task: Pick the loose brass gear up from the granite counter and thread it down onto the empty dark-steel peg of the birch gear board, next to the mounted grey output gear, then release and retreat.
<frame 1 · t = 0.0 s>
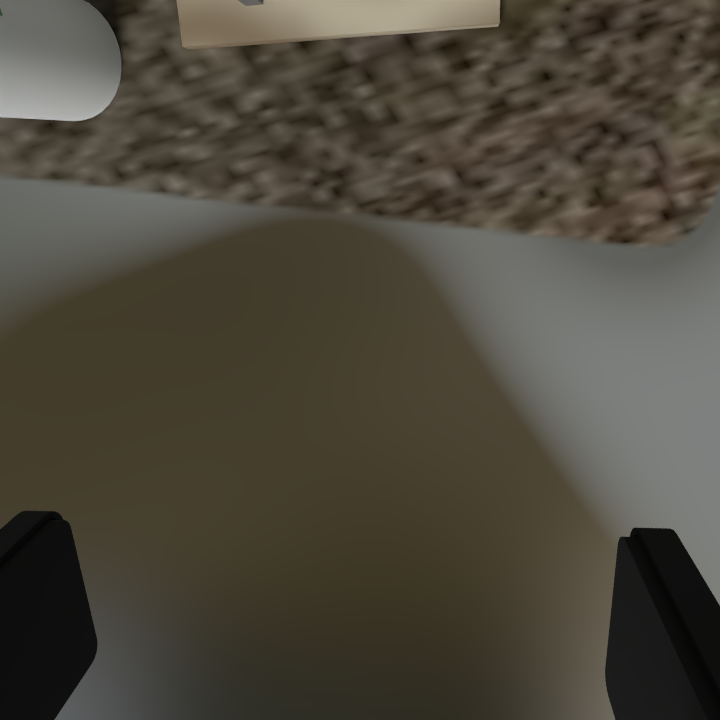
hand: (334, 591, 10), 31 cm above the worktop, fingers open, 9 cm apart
cylindrical container: (67, 59, 38), on the worktop
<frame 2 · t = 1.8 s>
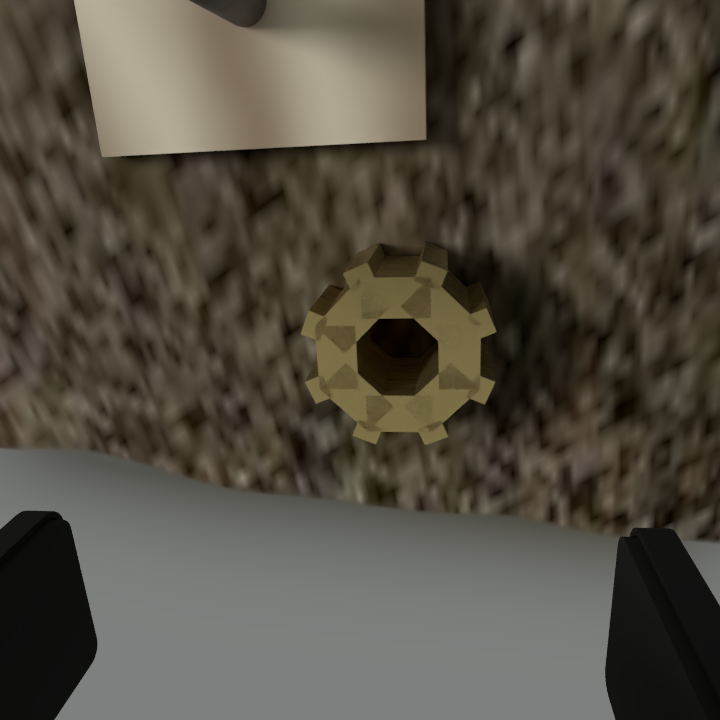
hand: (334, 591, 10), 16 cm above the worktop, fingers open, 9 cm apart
brass gear: (404, 325, 25), on the worktop
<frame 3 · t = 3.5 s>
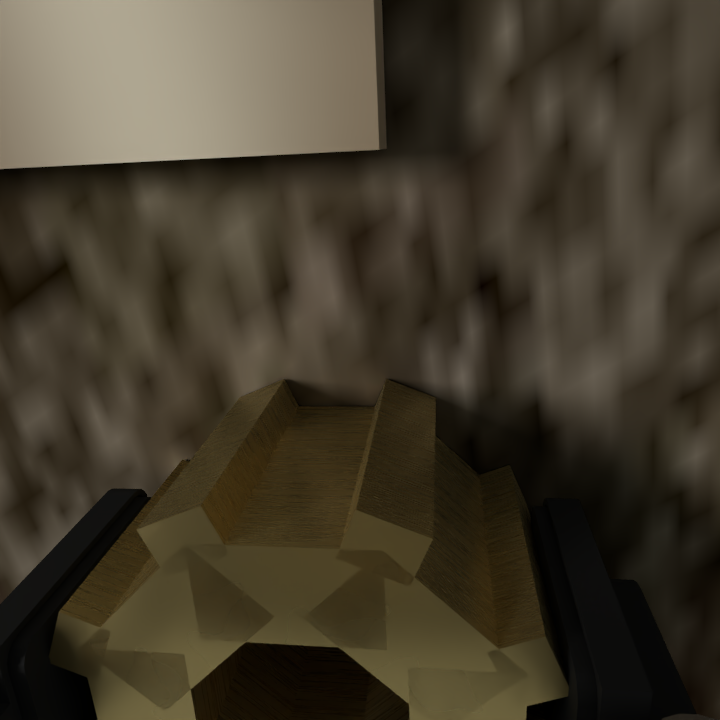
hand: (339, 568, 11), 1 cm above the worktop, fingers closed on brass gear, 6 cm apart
brass gear: (345, 543, 12), on the worktop, touching gripper
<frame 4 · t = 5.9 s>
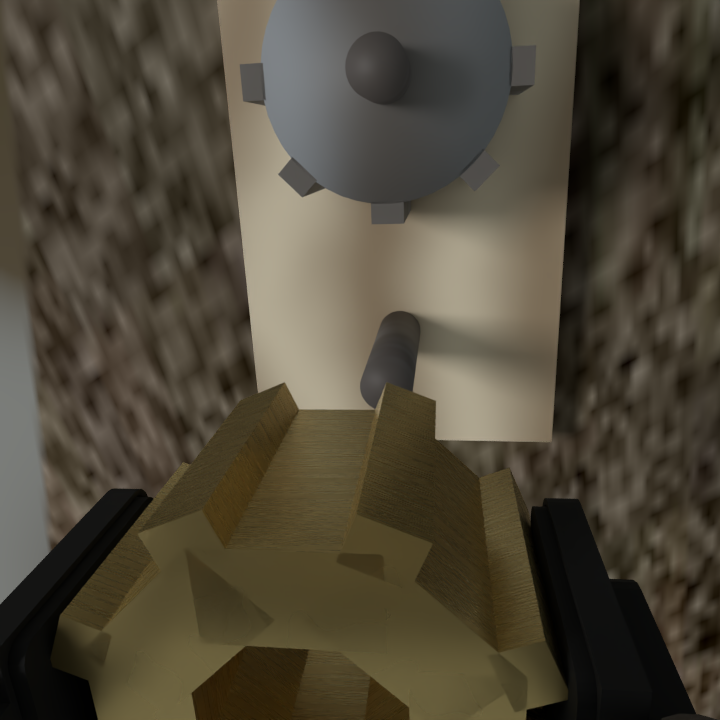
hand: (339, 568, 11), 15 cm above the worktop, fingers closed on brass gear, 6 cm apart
gear board: (399, 215, 24), on the worktop
brass gear: (345, 545, 12), point 15 cm above the worktop, touching gripper
when the fingers open (3 cm above the worktop, at t = 8.4 s): brass gear drops 2 cm, resting on gear board.
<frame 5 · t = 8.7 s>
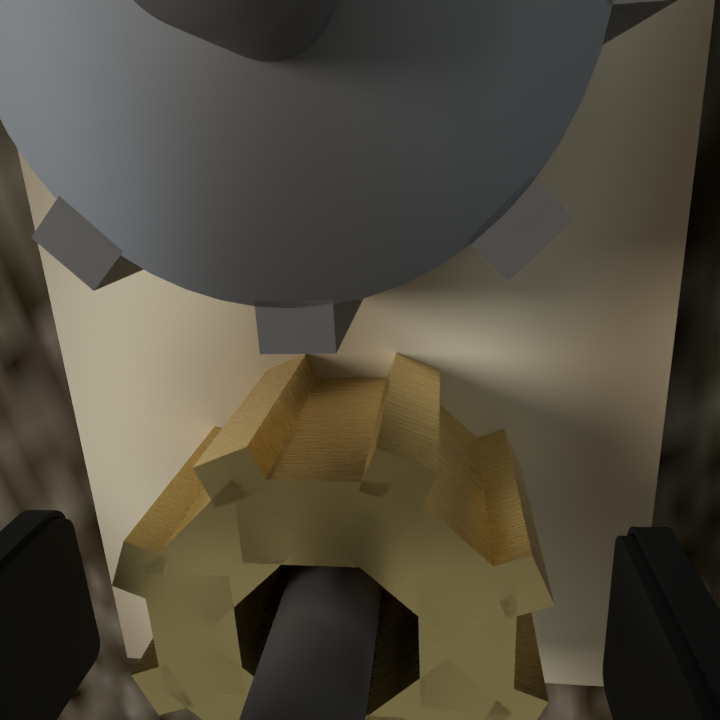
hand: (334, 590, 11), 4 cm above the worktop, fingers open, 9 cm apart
gear board: (353, 287, 13), on the worktop
brass gear: (359, 500, 13), point 1 cm above the worktop, touching gear board
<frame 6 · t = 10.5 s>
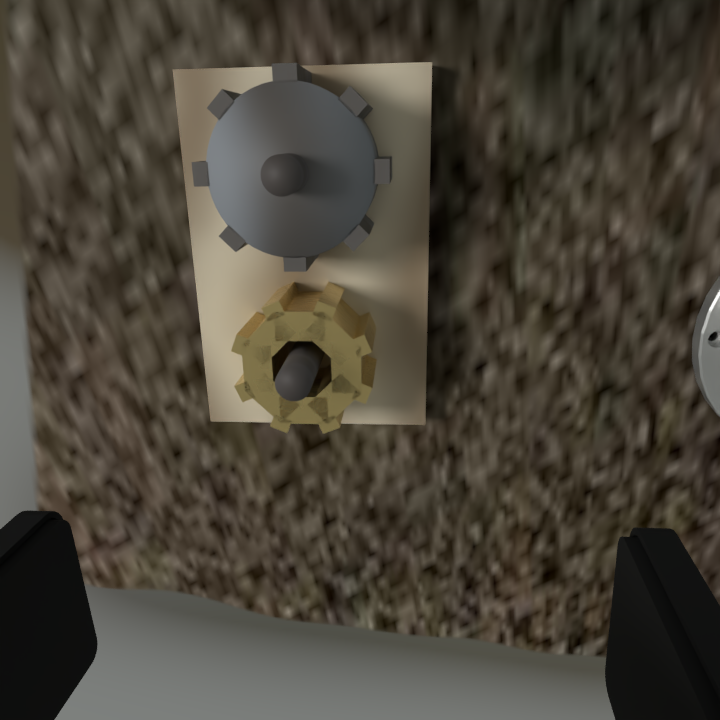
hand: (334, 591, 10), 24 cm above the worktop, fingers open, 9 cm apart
gear board: (312, 257, 33), on the worktop
brass gear: (314, 343, 33), point 1 cm above the worktop, touching gear board
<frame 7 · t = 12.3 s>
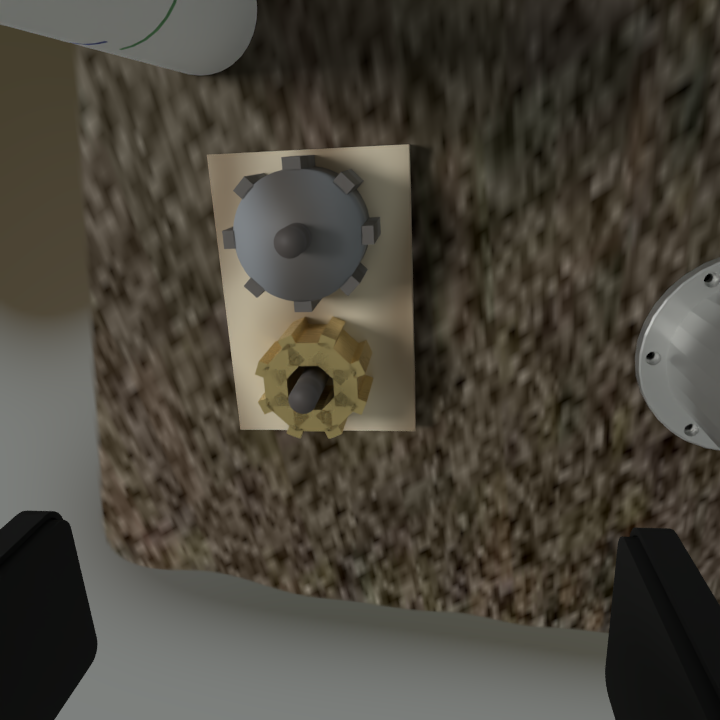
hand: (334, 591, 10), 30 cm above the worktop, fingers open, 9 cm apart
cylindrical container: (197, 7, 36), on the worktop
gear board: (320, 296, 40), on the worktop
brass gear: (322, 365, 41), point 1 cm above the worktop, touching gear board
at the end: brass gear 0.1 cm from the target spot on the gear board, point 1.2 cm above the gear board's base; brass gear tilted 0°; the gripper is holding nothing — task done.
